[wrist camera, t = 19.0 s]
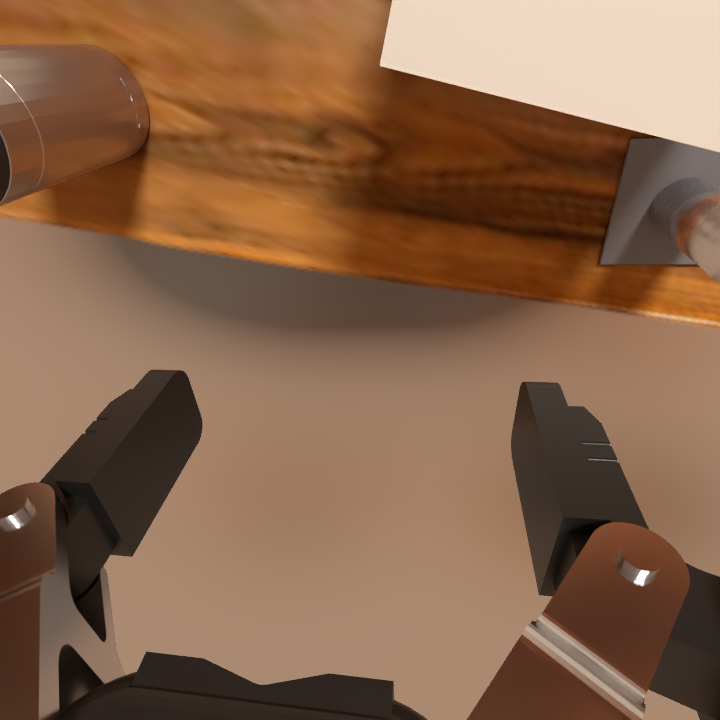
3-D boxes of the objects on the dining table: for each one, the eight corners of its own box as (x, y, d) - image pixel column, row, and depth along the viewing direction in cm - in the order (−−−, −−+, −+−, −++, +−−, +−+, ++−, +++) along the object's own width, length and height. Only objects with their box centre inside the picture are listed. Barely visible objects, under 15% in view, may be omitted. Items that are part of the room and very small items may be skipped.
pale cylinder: (643, 236, 42) (697, 286, 34) (657, 180, 39) (719, 219, 31) (703, 232, 41) (772, 281, 33) (721, 174, 38) (802, 213, 30)
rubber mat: (598, 262, 44) (600, 264, 44) (630, 138, 38) (631, 139, 38) (723, 262, 43) (725, 264, 43) (777, 133, 37) (780, 133, 36)
